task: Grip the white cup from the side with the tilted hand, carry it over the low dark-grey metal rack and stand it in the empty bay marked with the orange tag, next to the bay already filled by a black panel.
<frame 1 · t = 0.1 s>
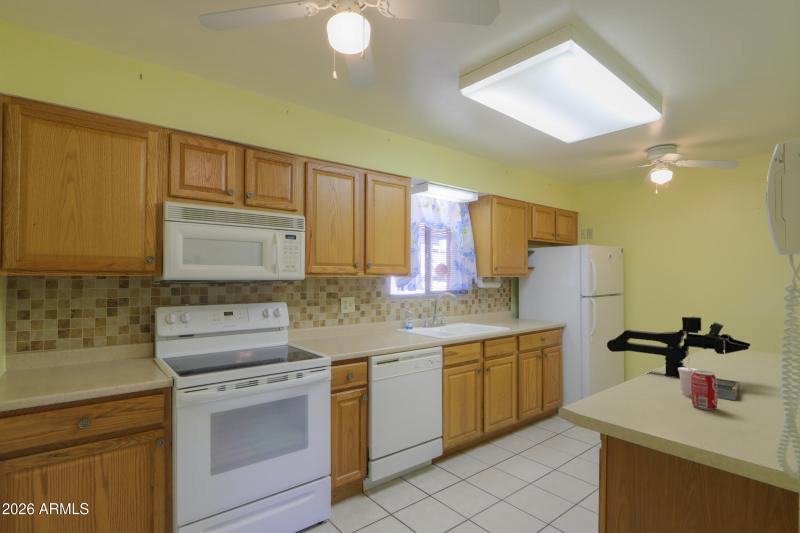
hand: (749, 346, 160), 17 cm above the countertop, tool horizontal, fingers open, 9 cm apart
white cup: (688, 395, 150), on the countertop
rack: (719, 391, 154), on the countertop
soda can: (704, 408, 135), on the countertop
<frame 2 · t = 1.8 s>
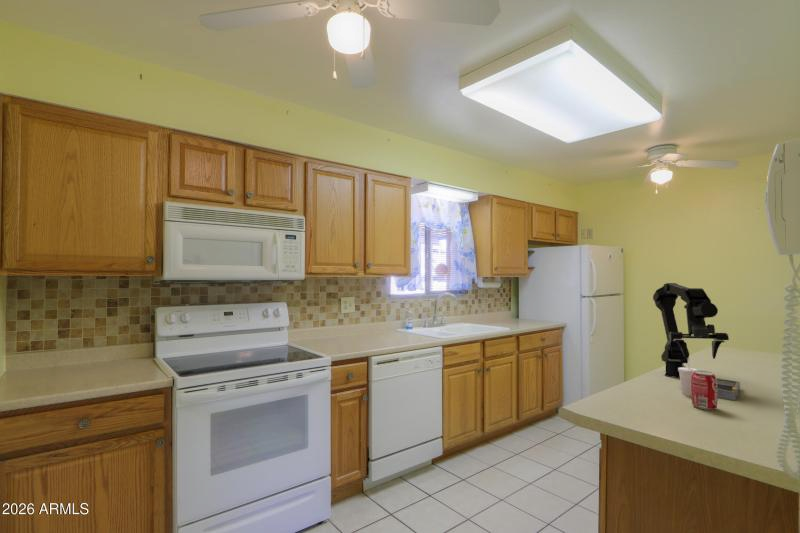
hand: (699, 358, 158), 12 cm above the countertop, tool pointing down, fingers open, 9 cm apart
nothing on the countertop moved.
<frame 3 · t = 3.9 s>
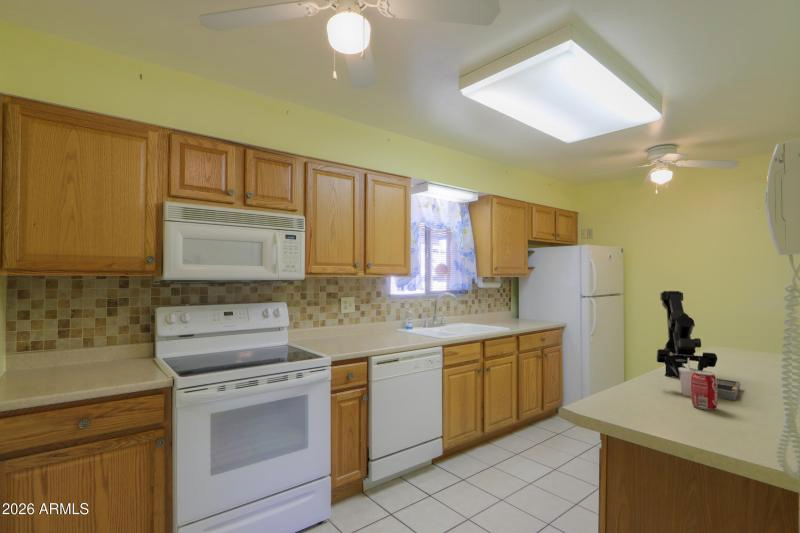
hand: (689, 376, 149), 7 cm above the countertop, tool tilted 45°, fingers closed on white cup, 6 cm apart
white cup: (688, 395, 150), on the countertop, touching gripper
everything else where it was.
when the fingers open (8 cm above the countertop, at t = 7.7 s): white cup drops 1 cm, resting in rack.
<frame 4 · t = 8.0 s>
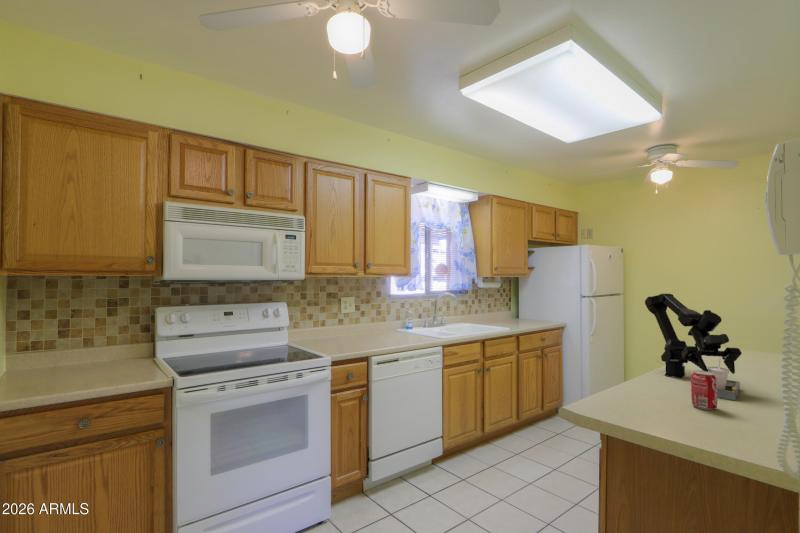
hand: (720, 372, 149), 9 cm above the countertop, tool tilted 45°, fingers open, 9 cm apart
white cup: (717, 394, 151), resting in rack
everything else where it was.
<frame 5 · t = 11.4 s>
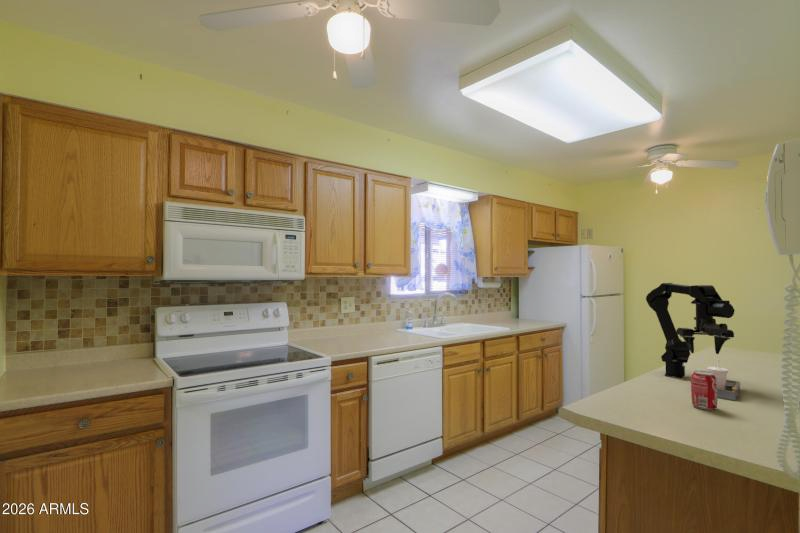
hand: (704, 353, 163), 13 cm above the countertop, tool pointing down, fingers open, 9 cm apart
nothing on the countertop moved.
at the end: white cup inside the target area on the rack (0.4 cm from its centre), point 0.0 cm above the rack's base; white cup tilted 0°; the gripper is holding nothing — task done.
